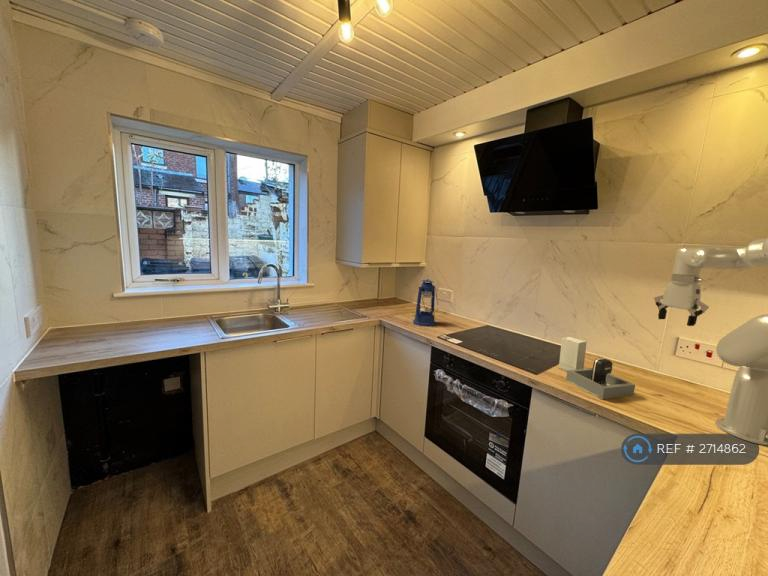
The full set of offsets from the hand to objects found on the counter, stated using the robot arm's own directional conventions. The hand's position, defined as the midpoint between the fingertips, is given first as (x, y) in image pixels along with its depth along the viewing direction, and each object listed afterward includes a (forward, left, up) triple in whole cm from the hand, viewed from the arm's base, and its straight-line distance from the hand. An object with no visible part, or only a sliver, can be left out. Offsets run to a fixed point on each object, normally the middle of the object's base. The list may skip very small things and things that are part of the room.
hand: (675, 322), depth 122 cm
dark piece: (+6, +27, -28) cm, 39 cm away
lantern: (+104, +60, -28) cm, 123 cm away
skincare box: (+22, +24, -28) cm, 43 cm away
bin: (+6, +27, -28) cm, 40 cm away
